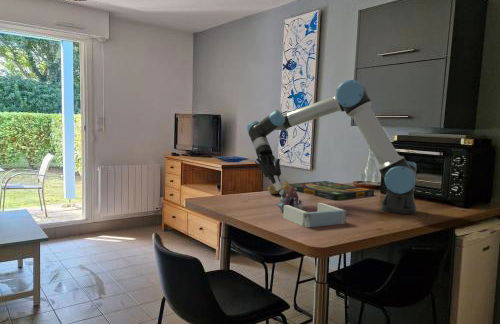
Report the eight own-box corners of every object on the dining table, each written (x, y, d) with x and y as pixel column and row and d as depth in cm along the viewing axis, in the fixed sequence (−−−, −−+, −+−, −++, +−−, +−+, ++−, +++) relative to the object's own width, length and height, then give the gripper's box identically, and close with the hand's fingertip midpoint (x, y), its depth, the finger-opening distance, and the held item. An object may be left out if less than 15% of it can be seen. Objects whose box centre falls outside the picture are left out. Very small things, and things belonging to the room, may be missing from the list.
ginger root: (288, 196, 189) (286, 180, 190) (262, 199, 198) (259, 184, 199) (301, 193, 203) (299, 178, 203) (276, 196, 211) (274, 182, 212)
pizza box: (325, 186, 241) (326, 181, 241) (373, 196, 214) (374, 190, 214) (286, 190, 219) (286, 184, 219) (333, 201, 192) (334, 194, 192)
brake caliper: (299, 210, 153) (285, 185, 156) (279, 222, 158) (266, 197, 162) (311, 206, 162) (298, 182, 165) (292, 218, 168) (279, 194, 171)
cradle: (283, 217, 150) (283, 205, 149) (320, 214, 159) (321, 202, 158) (305, 227, 136) (306, 213, 136) (345, 223, 145) (346, 210, 145)
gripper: (271, 153, 187) (287, 193, 174) (247, 153, 181) (263, 194, 168) (277, 144, 182) (294, 183, 169) (253, 143, 176) (270, 184, 163)
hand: (278, 188), depth 169 cm, fingers closed
